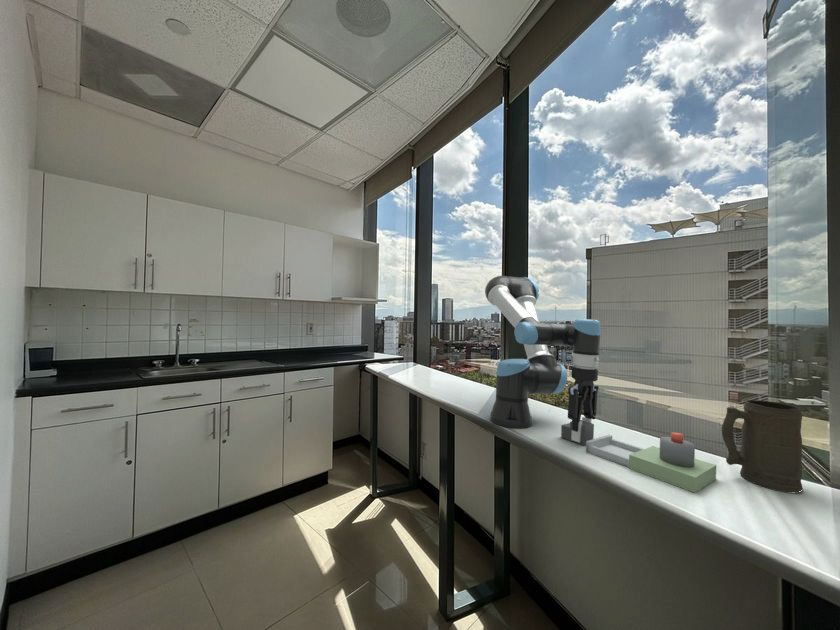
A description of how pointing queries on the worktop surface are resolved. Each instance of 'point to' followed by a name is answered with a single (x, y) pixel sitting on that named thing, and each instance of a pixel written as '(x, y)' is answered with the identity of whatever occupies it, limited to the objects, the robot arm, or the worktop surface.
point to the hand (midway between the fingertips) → (580, 439)
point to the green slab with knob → (659, 460)
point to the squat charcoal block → (586, 432)
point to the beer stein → (767, 444)
